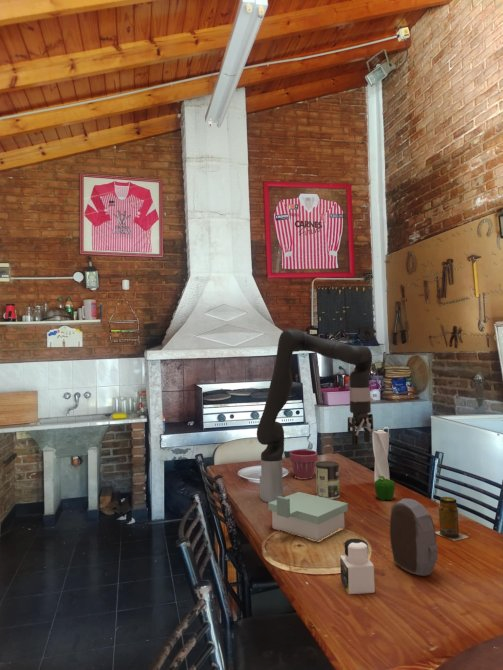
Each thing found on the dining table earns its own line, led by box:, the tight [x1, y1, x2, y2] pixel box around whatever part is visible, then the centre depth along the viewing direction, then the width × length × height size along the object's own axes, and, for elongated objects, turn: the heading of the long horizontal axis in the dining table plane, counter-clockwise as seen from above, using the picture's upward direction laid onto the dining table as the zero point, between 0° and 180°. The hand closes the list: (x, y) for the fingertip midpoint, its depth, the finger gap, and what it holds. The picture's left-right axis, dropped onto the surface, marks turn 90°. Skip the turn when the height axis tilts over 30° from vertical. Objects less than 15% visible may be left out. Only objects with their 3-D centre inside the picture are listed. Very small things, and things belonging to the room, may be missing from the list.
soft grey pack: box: [389, 497, 438, 577], centre depth 132 cm, size 15×8×20 cm, turn 23°
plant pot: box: [289, 449, 318, 478], centre depth 235 cm, size 14×14×13 cm
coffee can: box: [315, 460, 341, 500], centre depth 203 cm, size 10×10×14 cm
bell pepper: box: [374, 476, 396, 501], centre depth 197 cm, size 8×8×10 cm
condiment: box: [435, 496, 469, 542], centre depth 157 cm, size 7×8×12 cm
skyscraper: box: [371, 426, 391, 482], centre depth 215 cm, size 8×8×28 cm
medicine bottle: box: [339, 538, 375, 595], centre depth 123 cm, size 7×7×12 cm
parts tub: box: [271, 511, 346, 541], centre depth 165 cm, size 20×16×8 cm
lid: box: [267, 491, 349, 524], centre depth 163 cm, size 22×23×8 cm
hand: (361, 443), depth 169 cm, fingers open, 8 cm apart
